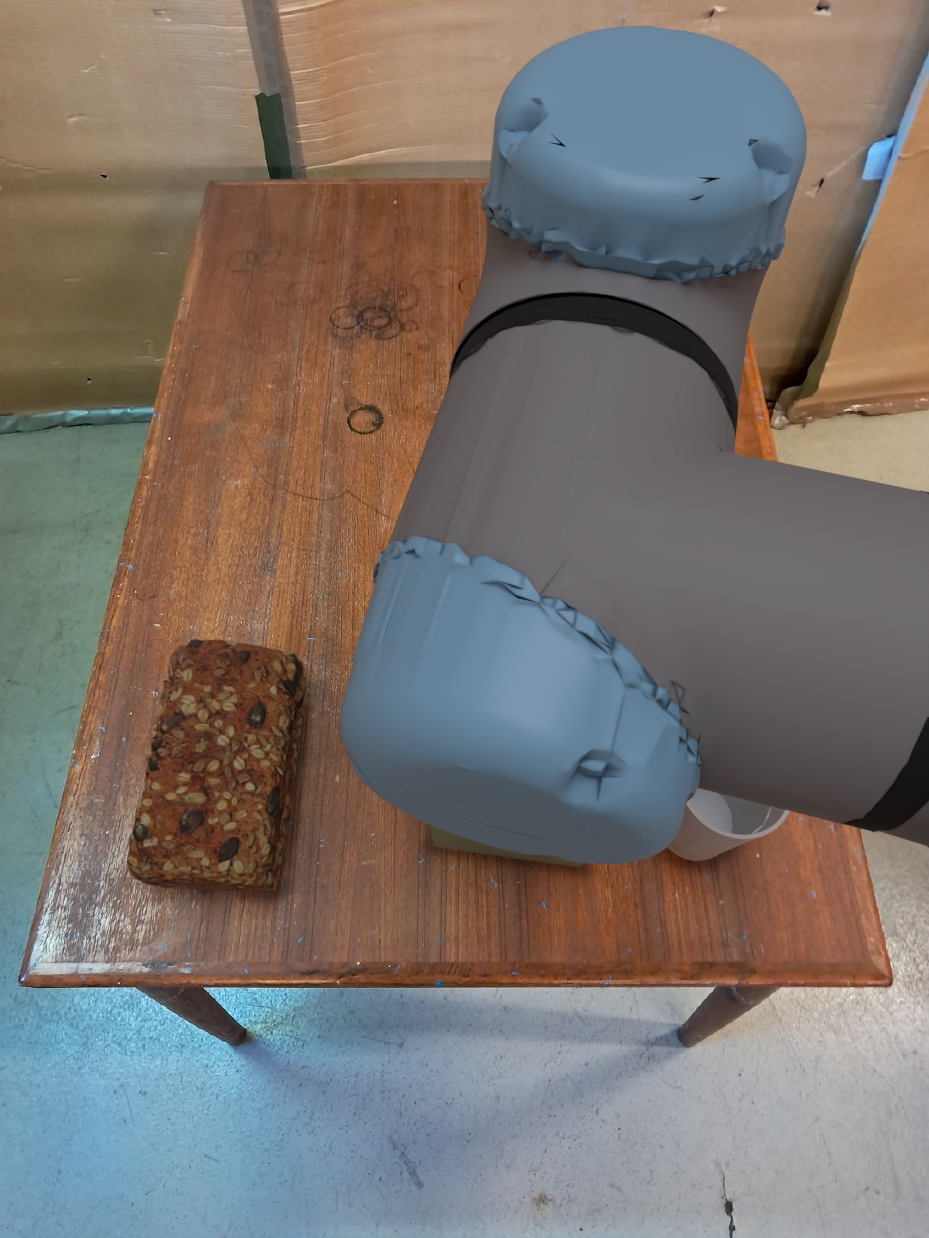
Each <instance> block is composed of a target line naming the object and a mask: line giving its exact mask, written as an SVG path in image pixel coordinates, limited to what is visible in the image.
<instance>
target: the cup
mask: <svg viewBox="0 0 929 1238" xmlns="http://www.w3.org/2000/svg"><path fill="white" fill-rule="evenodd" d="M790 812H791V811H788V810H784V809H780V808H776V807H772V806H768V805H764V804H760V803H756V802H752V801H748V800H744V799H740V798H736V797H732V796H728V795H724V794H720V793H716V792H712V791H708V790H704V789H700V788H697V790H696V792H695V794H694V795H693V797H692V798H691V799H690V800H688V801H687V803H686V808H685V814H684V819H683V822H682V825H681V827H680V830H679V832H678V834H677V836H676V837H675V838H674V840H673V841H672V842H671V843H670V845H669V846H668V847H667V848H666V849H668V850H669V851H670V852H671V853H673V854H674V855H675V856H678V857H679V858H682V859H685V860H688V861H693V862H702V861H707V860H711V859H714V858H715V857H717V856H718V855H719V854H723V853H724V852H727V851H730V850H732V849H734V848H737V847H739V846H742V845H743V844H747V843H749V842H752V841H754V840H757V839H761V838H762V837H764V836H767V835H769V834H771V833H773V832H774V831H776V830H777V829H778V828H779V827H780V826H781V825H782V824H783V823H784V822H785V820H786V819H787V818H788V816H789V814H790Z"/></svg>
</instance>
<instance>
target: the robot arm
mask: <svg viewBox="0 0 929 1238" xmlns="http://www.w3.org/2000/svg"><path fill="white" fill-rule="evenodd" d="M803 115H804V114H803V113H802V110H801V108H800V106H799V104H798V101H797V100H796V98H795V96H794V94H793V92H792V91H791V89H790V88H789V87H788V86H787V84H786V83H785V82H784V81H783V80H782V78H780V76H779V75H778V74H777V73H775V71H773V70H772V68H770V67H769V66H768V65H767V64H765V63H763V62H762V61H760V60H759V59H757V58H756V57H755V56H753V55H752V54H750V53H748V52H747V51H746V50H744V49H742V48H740V47H738V46H736V45H733V44H730V43H729V42H726V41H723V40H721V39H718V38H716V37H713V36H710V35H706V34H702V33H697V32H694V31H693V32H692V31H688V30H680V29H672V28H667V27H666V28H665V27H658V26H652V25H627V26H616V27H606V28H605V27H604V28H600V29H595V30H590V31H587V32H584V33H580V34H577V35H574V36H571V37H569V38H567V39H564V40H561V41H559V42H557V43H555V44H553V45H551V46H548V48H546V49H544V50H542V51H540V52H539V53H537V54H536V55H534V56H533V57H532V58H531V59H530V60H528V61H527V63H525V64H524V65H523V66H522V67H521V68H520V69H519V70H518V71H517V72H516V73H515V75H514V76H513V77H512V79H511V80H510V82H509V83H508V84H507V86H506V88H505V89H504V91H503V93H502V95H501V98H500V101H499V104H498V106H497V109H496V112H495V117H494V124H493V135H492V136H493V137H492V145H491V146H492V147H491V156H490V157H491V158H490V165H489V166H490V167H489V175H488V181H487V183H486V184H485V185H484V187H483V188H482V192H481V198H480V199H481V200H480V201H481V209H482V210H483V211H485V218H486V244H485V253H484V259H483V264H482V268H481V269H482V270H481V274H480V278H479V282H478V285H477V288H476V291H475V294H474V297H473V299H472V303H471V305H470V307H469V310H468V314H467V316H466V320H465V321H464V325H463V328H462V329H461V330H462V331H461V334H460V336H459V340H458V342H457V345H456V349H455V351H454V354H453V357H452V360H451V362H450V368H449V374H448V381H447V386H446V388H445V393H444V395H443V397H442V400H441V402H440V405H439V407H438V411H437V414H436V416H435V419H434V422H433V424H432V427H431V429H430V432H429V434H428V437H427V440H426V443H425V445H424V448H423V451H422V453H421V455H420V459H419V461H418V464H417V466H416V469H415V471H414V474H413V476H412V480H411V481H410V485H409V487H408V490H407V492H406V495H405V498H404V500H403V503H402V506H401V509H400V511H399V514H398V517H397V520H396V521H395V524H394V527H393V529H392V532H391V535H390V537H389V540H388V542H387V545H386V546H385V548H384V549H383V550H382V551H380V552H379V554H378V557H377V560H376V562H375V565H374V567H373V572H372V578H373V579H372V580H373V583H374V585H373V589H372V592H371V595H370V599H369V602H368V605H367V609H366V612H365V616H364V619H363V623H362V626H361V629H360V633H359V636H358V638H357V643H356V646H355V648H354V652H353V656H352V658H351V659H352V660H351V661H352V665H351V668H350V673H349V676H348V680H347V684H346V688H345V691H344V695H343V698H342V703H341V707H340V712H339V741H340V742H341V744H342V745H343V747H344V752H345V755H346V757H347V756H348V759H349V761H350V764H351V766H352V768H353V770H354V772H355V774H356V775H357V777H358V778H359V779H360V780H361V781H362V783H363V784H364V785H365V786H366V787H367V788H368V789H369V790H370V791H371V792H373V793H374V794H375V795H376V796H377V797H378V798H380V799H381V800H383V801H384V802H386V803H388V804H389V805H391V806H393V807H394V808H396V809H397V810H399V811H401V812H402V813H404V814H406V815H407V816H410V817H412V818H414V819H416V820H418V821H420V822H422V823H424V824H426V825H429V826H430V825H431V826H434V827H436V828H439V829H441V830H443V831H446V832H449V833H452V834H455V835H458V836H461V837H464V838H467V839H470V840H473V841H476V842H479V843H482V844H485V845H489V846H492V847H496V848H500V849H503V850H508V851H512V852H516V853H521V854H526V855H548V856H555V857H557V858H560V859H563V860H567V861H572V862H578V863H583V864H586V865H587V864H589V865H590V864H591V865H619V864H620V865H622V864H629V863H636V862H639V861H642V860H646V859H649V858H652V857H653V856H655V855H658V854H660V853H661V852H663V851H664V850H665V849H668V848H667V847H668V846H669V845H670V843H671V842H672V841H673V840H674V838H675V837H676V836H677V834H678V832H679V830H680V827H681V825H682V822H683V819H684V814H685V808H686V803H687V801H688V800H690V799H691V798H692V797H693V795H694V794H695V792H696V790H697V788H700V789H704V790H708V791H712V792H716V793H720V794H724V795H728V796H732V797H736V798H740V799H744V800H748V801H752V802H756V803H760V804H764V805H768V806H772V807H776V808H780V809H784V810H788V811H790V812H793V813H796V814H800V815H805V816H809V817H812V818H816V819H821V820H825V821H829V822H833V823H837V824H840V825H841V824H842V825H844V826H845V825H846V826H849V827H852V828H856V829H861V830H866V831H869V832H872V833H878V832H879V833H882V834H883V833H884V834H887V835H889V836H892V837H896V838H898V839H899V838H900V839H901V840H902V839H903V840H906V841H908V842H912V843H916V844H919V845H921V846H926V847H927V848H928V849H929V491H925V490H918V489H912V488H907V487H902V486H897V485H893V484H887V483H884V482H878V481H873V480H868V479H864V478H859V477H854V476H850V475H844V474H839V473H834V472H830V471H824V470H820V469H815V468H811V467H806V466H805V467H804V466H800V465H795V464H790V463H786V462H780V461H777V460H776V461H775V460H770V459H766V458H760V457H754V456H748V455H741V454H737V453H735V449H736V448H735V446H736V438H737V431H738V421H739V420H738V419H739V402H740V394H741V388H742V387H741V386H742V378H743V371H744V364H745V356H746V349H747V342H748V341H747V340H748V335H749V329H750V327H751V326H750V325H751V321H752V317H753V313H754V310H755V306H756V303H757V300H758V297H759V294H760V291H761V287H762V285H763V282H764V279H765V277H766V275H767V272H768V270H769V268H770V266H771V263H772V261H776V260H779V258H780V256H781V254H782V251H783V249H784V246H785V243H786V235H787V234H786V228H785V225H786V221H787V218H788V216H789V213H790V209H791V206H792V204H793V200H794V197H795V194H796V191H797V188H798V185H799V183H800V179H801V176H802V173H803V170H804V167H805V163H806V159H807V147H808V132H807V127H806V123H805V119H804V116H803ZM431 826H430V827H431Z"/></svg>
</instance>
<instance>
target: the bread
mask: <svg viewBox="0 0 929 1238" xmlns="http://www.w3.org/2000/svg"><path fill="white" fill-rule="evenodd" d="M306 703H307V677H306V667H305V665H304V663H303V662H302V661H301V660H299V659H298V653H294V652H290V651H287V650H285V649H284V650H280V649H275V648H269V647H265V646H262V645H256V644H250V643H249V644H248V643H241V642H237V641H236V640H229V639H228V640H224V639H203V640H201V639H196V638H194V639H191V640H190V641H189V642H188V643H187V644H184V645H181V644H178V646H177V647H175V649H174V650H173V652H172V653H171V655H170V657H169V660H168V665H167V674H166V675H164V677H163V688H162V692H161V695H160V698H159V700H158V703H157V707H156V712H157V714H156V715H154V721H153V734H152V735H151V738H150V739H149V740H150V744H149V747H147V749H146V763H145V776H144V780H143V785H142V786H143V787H142V794H141V798H140V799H139V800H138V803H137V807H136V810H135V816H134V821H133V827H132V830H131V832H130V835H129V839H128V840H129V841H128V851H127V856H126V865H127V867H128V871H129V875H131V876H132V877H133V878H134V879H135V880H137V881H139V882H141V883H143V884H145V885H147V886H149V887H150V886H153V887H154V888H156V887H159V888H163V889H185V890H194V891H196V890H197V891H214V892H240V893H242V892H243V893H276V892H279V891H280V885H281V879H282V875H283V868H284V860H285V853H286V848H287V842H288V841H287V839H288V831H289V828H290V821H291V817H292V808H293V805H294V795H295V786H296V785H295V784H296V779H297V771H298V767H299V761H300V757H299V756H300V750H301V743H302V735H303V729H304V728H303V727H304V721H305V707H306Z"/></svg>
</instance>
